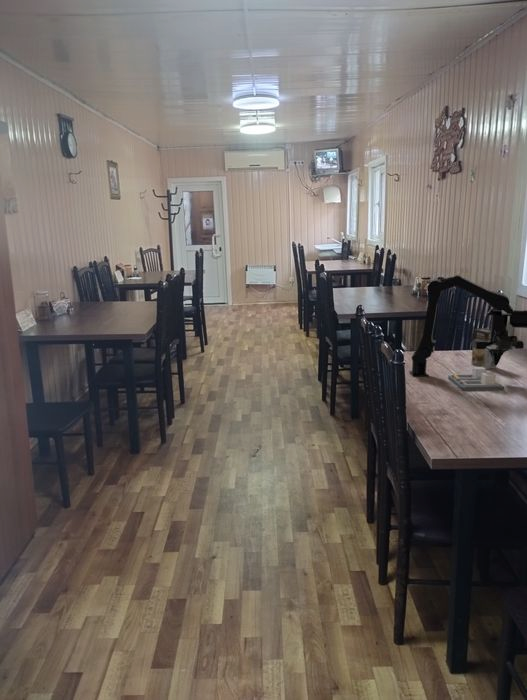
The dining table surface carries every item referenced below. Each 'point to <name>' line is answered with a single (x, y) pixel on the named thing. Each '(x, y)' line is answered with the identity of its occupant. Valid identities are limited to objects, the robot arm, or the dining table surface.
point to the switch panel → (472, 383)
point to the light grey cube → (478, 372)
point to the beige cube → (488, 378)
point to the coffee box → (482, 350)
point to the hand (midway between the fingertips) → (495, 365)
